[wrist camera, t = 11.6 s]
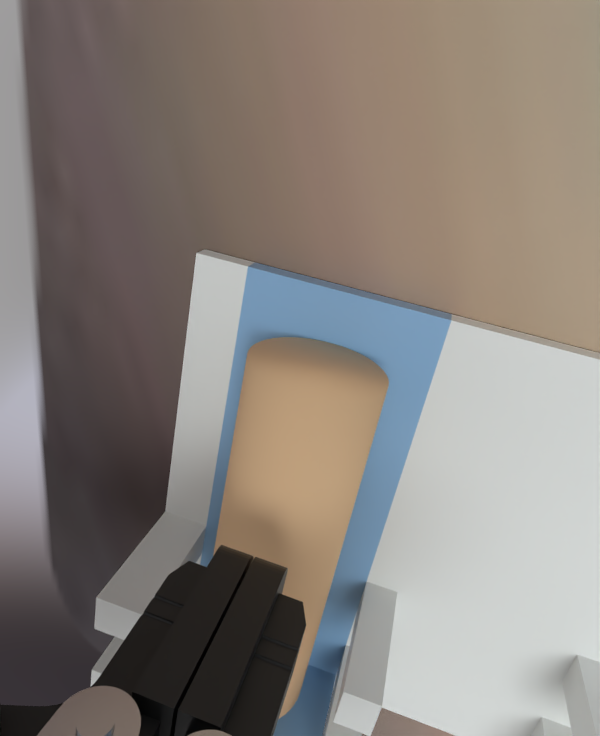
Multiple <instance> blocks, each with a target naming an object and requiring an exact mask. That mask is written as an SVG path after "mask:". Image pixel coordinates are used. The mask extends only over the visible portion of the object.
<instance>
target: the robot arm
mask: <svg viewBox="0 0 600 736" xmlns="http://www.w3.org/2000/svg"><path fill="white" fill-rule="evenodd" d="M287 571H288V568H286V567H284V566H281V565H278V564H275V563H272V562H269V561H267V560H264V559H261V558H258V557H255V558H254V556H252V555H249V554H246V553H244V552H241V551H238V550H235V549H232V548H230V547H227V546H224V545H221V546H220V547H219V548H218V549H217V551H216V552H215V554H214V556H213V557H212V559H211V561H210V563H209V564H208V566H207V567H205V566H202V565H200V564H197V563H194V562H191V561H188V562H187V563H185V564H184V565H182V566H181V567H179V568H178V569H176V570H175V571H173V572H172V573H170V574H169V575H168V576H167V578H166V579H165V581H164V582H163V584H162V585H161V587H160V588H159V590H158V591H157V592H156V594H155V597H154V598H152V600H151V601H150V603H149V604H148V606H147V607H146V609H145V610H144V613H143V615H141V616H140V618H139V619H138V621H137V622H136V624H135V625H134V626H133V628H132V629H131V631H130V632H129V634H128V635H127V637H126V638H125V640H124V641H123V643H122V644H121V646H120V647H119V649H118V650H117V652H116V653H115V655H114V656H113V658H112V659H111V661H110V662H109V663H108V665H107V666H106V668H105V669H104V671H103V672H102V674H101V675H100V677H99V678H98V679H97V681H96V682H95V683H94V684H93V685H92V686H91V687H90V688H87V689H84V690H82V691H80V692H78V693H76V694H75V695H73V696H71V697H70V698H69V699H68V700H66V701H65V702H64V703H61V704H58V705H52V706H40V707H39V706H14V705H0V736H273V735H274V731H275V728H276V725H277V722H278V719H279V716H280V712H281V709H282V706H283V703H284V700H285V697H286V694H287V690H288V687H289V684H290V681H291V678H292V675H293V671H294V667H295V664H296V660H297V657H298V653H299V650H300V646H301V642H302V639H303V635H304V632H305V628H306V620H305V613H304V606H303V602H302V601H299V600H296V599H294V598H291V597H288V596H285V595H283V594H282V592H283V588H284V584H285V580H286V575H287Z"/></svg>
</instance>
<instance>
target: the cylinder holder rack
mask: <svg viewBox="0 0 600 736" xmlns="http://www.w3.org/2000/svg"><path fill="white" fill-rule="evenodd" d="M278 337H299V338H309V339H315V340H320V341H325V342H329V343H332V344H336V345H339V346H343V347H345V348H348V349H351V350H353V351H355V352H358V353H359V354H361V355H363V356H365V357H367V358H369V359H370V360H372V361H373V362H375V363H376V364H377V365H378V366H379V367H381V368H382V370H383V371H384V372H385V373H386V375H387V377H388V380H389V386H388V390H387V393H386V397H385V400H384V403H383V407H382V410H381V414H380V417H379V421H378V424H377V428H376V431H375V435H374V438H373V442H372V445H371V448H370V452H369V455H368V459H367V462H366V466H365V469H364V473H363V476H362V480H361V483H360V487H359V490H358V494H357V497H356V500H355V504H354V507H353V511H352V514H351V518H350V521H349V525H348V528H347V532H346V535H345V539H344V542H343V545H342V549H341V552H340V556H339V559H338V563H337V566H336V570H335V573H334V577H333V580H332V584H331V587H330V591H329V594H328V597H327V601H326V604H325V608H324V611H323V615H322V618H321V622H320V625H319V629H318V632H317V636H316V639H315V643H314V646H313V649H312V653H311V656H310V660H309V663H308V667H307V670H306V674H305V677H304V681H303V684H302V688H301V691H300V694H299V697H298V699H297V701H296V702H295V704H294V706H293V707H292V708H291V709H290V710H289V711H288V712H287V713H286V714H285V715H284V716H282V717H281V718H279V719H278V722H277V725H276V728H275V731H274V735H273V736H322V735H323V736H362V733H363V734H365V735H368V736H371V733H372V731H373V728H374V726H375V723H376V721H377V718H378V715H379V713H380V710H381V708H385V709H387V710H390V711H393V712H395V713H398V714H400V715H403V716H406V717H408V718H411V719H413V720H416V721H419V722H421V723H424V724H427V725H429V726H432V727H434V728H437V729H440V730H442V731H445V732H448V733H450V734H453V735H455V736H600V353H598V352H594V351H590V350H586V349H583V348H579V347H575V346H571V345H567V344H564V343H560V342H556V341H552V340H548V339H545V338H541V337H537V336H533V335H529V334H526V333H522V332H518V331H514V330H510V329H507V328H503V327H499V326H495V325H491V324H488V323H484V322H480V321H476V320H472V319H469V318H465V317H461V316H457V315H453V314H449V313H446V312H442V311H438V310H434V309H430V308H427V307H423V306H419V305H415V304H411V303H408V302H404V301H400V300H396V299H392V298H389V297H385V296H381V295H377V294H373V293H370V292H366V291H362V290H358V289H354V288H351V287H347V286H343V285H339V284H335V283H332V282H328V281H324V280H320V279H316V278H313V277H309V276H305V275H301V274H297V273H294V272H290V271H286V270H282V269H278V268H275V267H271V266H267V265H263V264H259V263H256V262H252V261H248V260H244V259H240V258H237V257H233V256H229V255H225V254H221V253H217V252H214V251H210V250H206V249H205V250H202V251H200V252H197V253H196V261H195V269H194V277H193V286H192V294H191V302H190V310H189V319H188V327H187V335H186V344H185V352H184V360H183V368H182V377H181V385H180V393H179V401H178V410H177V418H176V426H175V434H174V443H173V451H172V459H171V468H170V476H169V484H168V492H167V501H166V509H165V512H164V514H163V515H162V516H161V517H160V519H159V520H158V521H157V522H156V524H155V525H154V526H153V527H152V529H151V530H150V531H149V532H148V534H147V535H146V536H145V537H144V539H143V540H142V541H141V542H140V544H139V545H138V546H137V547H136V549H135V550H134V551H133V552H132V554H131V555H130V556H129V557H128V559H127V560H126V561H125V562H124V564H123V565H122V566H121V567H120V569H119V570H118V571H117V572H116V574H115V575H114V576H113V577H112V578H111V580H110V581H109V582H108V583H107V585H106V586H105V587H104V588H103V590H102V591H101V592H100V593H99V595H98V596H97V597H96V611H95V626H94V629H97V630H99V631H102V632H104V633H107V634H110V635H112V636H115V637H114V639H113V640H112V641H111V643H110V644H109V646H108V647H107V649H106V650H105V651H104V653H103V654H102V656H101V657H100V659H99V660H98V661H97V663H96V664H95V666H94V667H93V669H92V675H91V686H92V685H93V684H94V683H95V682H96V681H97V679H98V678H99V677H100V675H101V674H102V672H103V671H104V669H105V668H106V666H107V665H108V663H109V662H110V661H111V659H112V658H113V656H114V655H115V653H116V652H117V650H118V649H119V647H120V646H121V644H122V643H123V641H124V640H125V638H126V637H127V635H128V634H129V632H130V631H131V629H132V628H133V626H134V625H135V624H136V622H137V621H138V619H139V618H140V616H141V615H143V613H144V610H145V609H146V607H147V606H148V604H149V603H150V601H151V600H152V598H154V597H155V594H156V592H157V591H158V590H159V588H160V587H161V585H162V584H163V582H164V581H165V579H166V578H167V576H168V575H169V574H170V573H172V572H173V571H175V570H176V569H178V568H179V567H181V566H182V565H184V564H185V563H187V562H188V561H191V562H194V563H197V564H200V565H202V566H205V567H207V566H208V564H209V563H210V561H211V559H212V557H213V553H214V548H215V542H216V536H217V530H218V524H219V518H220V512H221V506H222V500H223V494H224V488H225V482H226V476H227V471H228V465H229V459H230V453H231V447H232V441H233V435H234V429H235V423H236V417H237V411H238V405H239V399H240V393H241V388H242V382H243V376H244V370H245V364H246V358H247V352H248V350H249V349H250V348H251V346H253V345H254V344H256V343H258V342H260V341H263V340H266V339H271V338H278ZM332 691H333V694H332ZM331 695H332V698H331ZM330 700H331V702H330ZM329 704H330V707H329ZM328 709H329V711H328ZM327 713H328V715H327ZM326 717H327V720H326ZM325 722H326V724H325ZM324 726H325V729H324ZM323 730H324V733H323Z"/></svg>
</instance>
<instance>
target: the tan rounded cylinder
mask: <svg viewBox="0 0 600 736" xmlns="http://www.w3.org/2000/svg"><path fill="white" fill-rule="evenodd" d="M388 386H389V380H388V377H387V375H386V373H385V372H384V371H383V370H382V368H381V367H379V366H378V365H377V364H376V363H375V362H373V361H372V360H370V359H369V358H367V357H365V356H363V355H361V354H359V353H358V352H355V351H353V350H351V349H348V348H345V347H343V346H339V345H336V344H332V343H329V342H325V341H320V340H315V339H309V338H299V337H278V338H271V339H266V340H263V341H260V342H258V343H256V344H254V345H253V346H251V348H250V349H249V350H248V352H247V358H246V364H245V370H244V376H243V382H242V388H241V393H240V399H239V405H238V411H237V417H236V423H235V429H234V435H233V441H232V447H231V453H230V459H229V465H228V471H227V476H226V482H225V488H224V494H223V500H222V506H221V512H220V518H219V524H218V530H217V536H216V542H215V548H214V553H213V556H214V554H215V552H216V551H217V549H218V548H219V547H220V546H221V545H224V546H227V547H230V548H232V549H235V550H238V551H241V552H244V553H246V554H249V555H252V556H254V558H255V557H258V558H261V559H264V560H267V561H269V562H272V563H275V564H278V565H281V566H284V567H286V568H288V571H287V575H286V580H285V584H284V588H283V592H282V594H283V595H285V596H288V597H291V598H294V599H296V600H299V601H302V602H303V606H304V613H305V620H306V628H305V632H304V635H303V639H302V642H301V646H300V650H299V653H298V657H297V660H296V664H295V667H294V671H293V675H292V678H291V681H290V684H289V687H288V690H287V694H286V697H285V700H284V703H283V706H282V709H281V712H280V716H279V718H281V717H282V716H284V715H285V714H286V713H287V712H288V711H289V710H290V709H291V708H292V707H293V706H294V704H295V702H296V701H297V699H298V697H299V694H300V691H301V688H302V684H303V681H304V677H305V674H306V670H307V667H308V663H309V660H310V656H311V653H312V649H313V646H314V643H315V639H316V636H317V632H318V629H319V625H320V622H321V618H322V615H323V611H324V608H325V604H326V601H327V597H328V594H329V591H330V587H331V584H332V580H333V577H334V573H335V570H336V566H337V563H338V559H339V556H340V552H341V549H342V545H343V542H344V539H345V535H346V532H347V528H348V525H349V521H350V518H351V514H352V511H353V507H354V504H355V500H356V497H357V494H358V490H359V487H360V483H361V480H362V476H363V473H364V469H365V466H366V462H367V459H368V455H369V452H370V448H371V445H372V442H373V438H374V435H375V431H376V428H377V424H378V421H379V417H380V414H381V410H382V407H383V403H384V400H385V397H386V393H387V390H388Z"/></svg>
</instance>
